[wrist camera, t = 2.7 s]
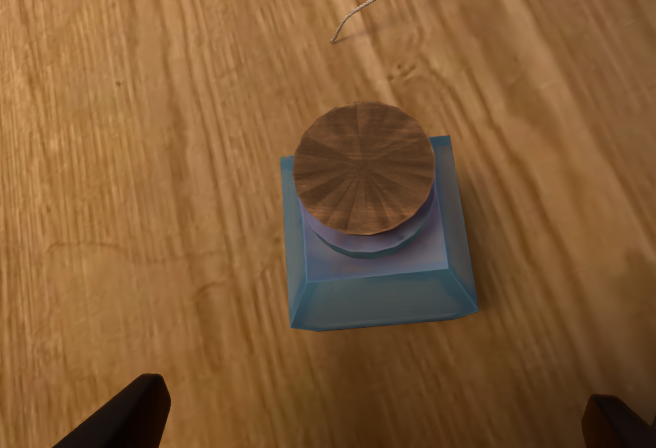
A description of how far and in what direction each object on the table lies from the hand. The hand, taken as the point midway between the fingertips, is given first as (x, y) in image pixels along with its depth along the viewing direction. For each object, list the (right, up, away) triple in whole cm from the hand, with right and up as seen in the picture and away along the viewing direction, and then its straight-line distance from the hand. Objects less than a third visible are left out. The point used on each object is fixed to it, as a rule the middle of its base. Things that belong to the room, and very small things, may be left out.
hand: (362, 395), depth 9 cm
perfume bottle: (+2, +2, +12) cm, 12 cm away
